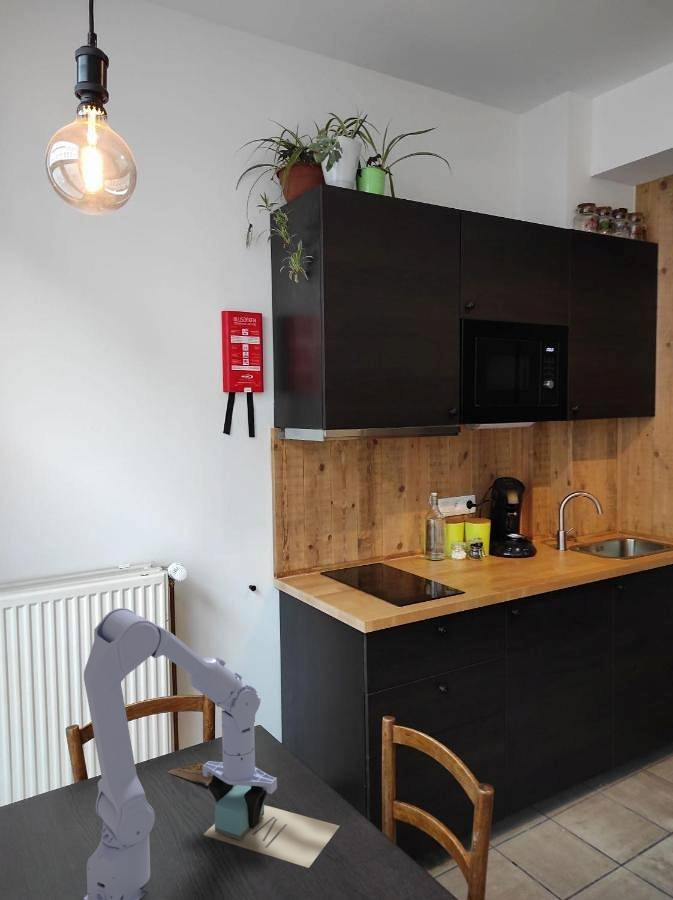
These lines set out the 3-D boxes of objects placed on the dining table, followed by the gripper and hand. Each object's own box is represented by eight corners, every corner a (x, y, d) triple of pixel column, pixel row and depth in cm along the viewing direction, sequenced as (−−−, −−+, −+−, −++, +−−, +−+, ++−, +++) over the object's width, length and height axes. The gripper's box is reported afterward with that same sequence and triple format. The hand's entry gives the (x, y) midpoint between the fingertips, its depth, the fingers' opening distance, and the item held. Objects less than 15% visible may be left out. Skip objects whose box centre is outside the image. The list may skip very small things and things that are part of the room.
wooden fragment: (293, 775, 140) (293, 770, 140) (272, 804, 129) (272, 799, 129) (184, 757, 148) (184, 752, 148) (157, 784, 137) (156, 779, 137)
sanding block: (239, 840, 115) (239, 812, 115) (215, 831, 118) (214, 804, 117) (264, 814, 123) (264, 788, 122) (240, 806, 125) (240, 781, 125)
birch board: (308, 876, 109) (308, 867, 109) (203, 842, 118) (203, 834, 118) (339, 834, 120) (339, 825, 120) (241, 805, 129) (240, 798, 128)
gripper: (284, 745, 120) (286, 818, 121) (218, 730, 126) (219, 799, 127) (264, 764, 114) (266, 841, 114) (195, 747, 120) (197, 820, 121)
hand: (240, 821), depth 120 cm, fingers closed on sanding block, 5 cm apart
